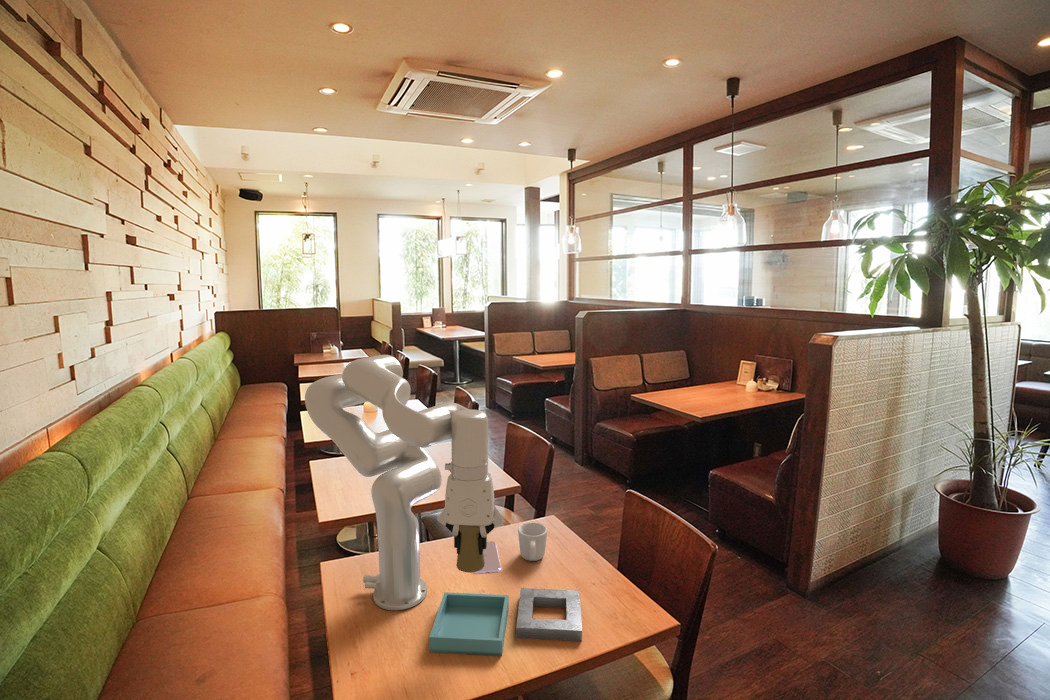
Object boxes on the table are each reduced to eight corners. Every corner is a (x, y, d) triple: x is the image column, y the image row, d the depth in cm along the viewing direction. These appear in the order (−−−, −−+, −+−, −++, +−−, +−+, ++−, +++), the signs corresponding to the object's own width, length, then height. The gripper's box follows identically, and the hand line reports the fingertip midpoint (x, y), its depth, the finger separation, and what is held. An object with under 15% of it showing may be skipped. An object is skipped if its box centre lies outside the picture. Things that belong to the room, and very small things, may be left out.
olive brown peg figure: (480, 574, 111) (480, 524, 109) (452, 570, 112) (451, 521, 110) (488, 558, 117) (488, 511, 115) (461, 555, 118) (461, 508, 116)
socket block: (516, 637, 114) (516, 627, 114) (520, 597, 128) (520, 587, 128) (581, 641, 114) (582, 630, 113) (579, 600, 127) (579, 590, 127)
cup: (547, 570, 139) (548, 542, 138) (517, 570, 139) (517, 541, 138) (546, 548, 150) (546, 522, 149) (518, 548, 150) (518, 521, 149)
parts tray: (429, 652, 110) (429, 637, 109) (444, 605, 125) (444, 592, 124) (501, 656, 109) (501, 640, 108) (508, 608, 124) (508, 595, 123)
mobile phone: (472, 571, 137) (469, 542, 152) (472, 575, 138) (469, 545, 152) (502, 569, 139) (495, 540, 153) (502, 572, 139) (495, 543, 153)
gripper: (425, 475, 108) (427, 559, 111) (508, 478, 107) (507, 562, 110) (434, 461, 115) (435, 540, 118) (511, 464, 114) (511, 543, 117)
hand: (470, 550), depth 114 cm, fingers closed on olive brown peg figure, 4 cm apart
